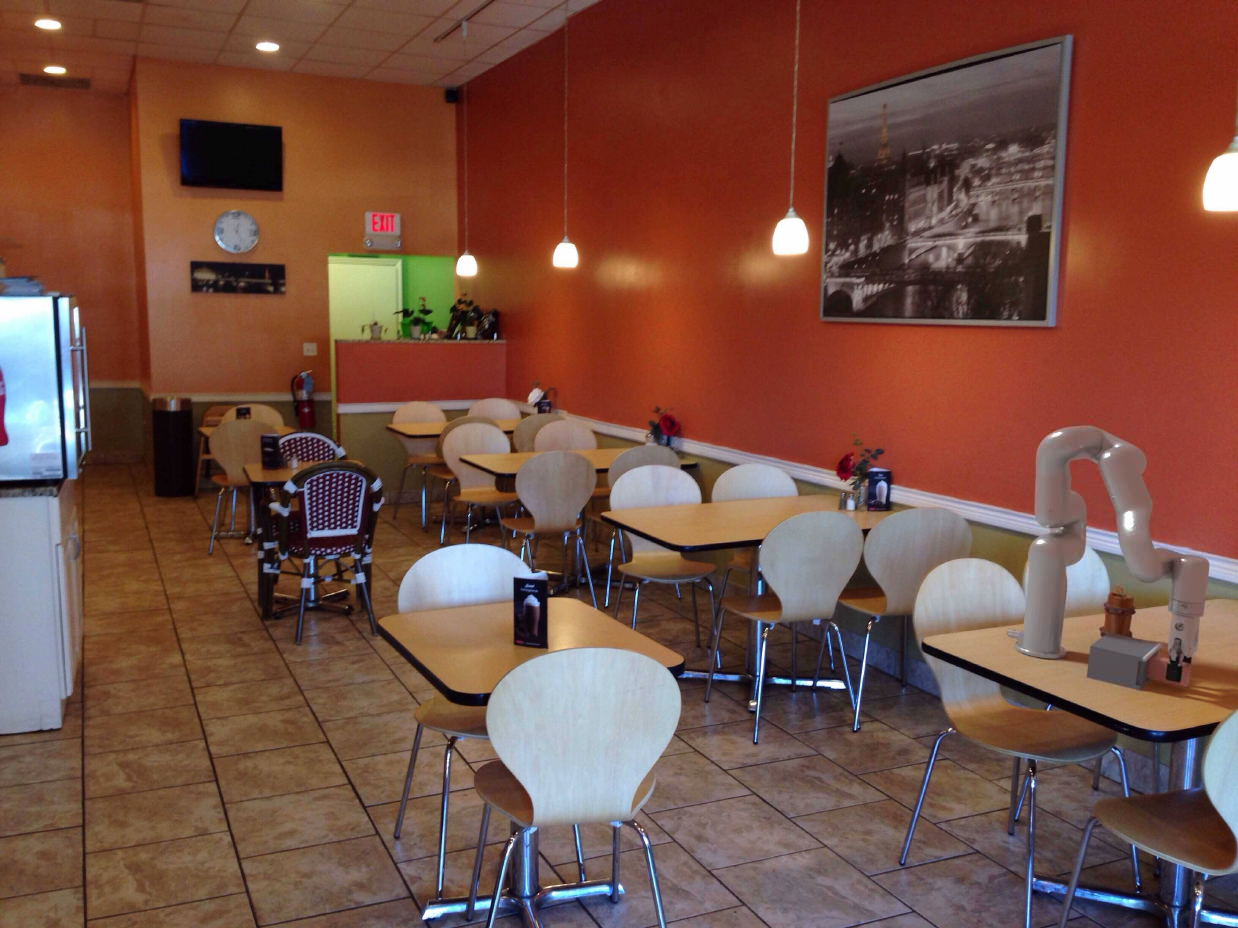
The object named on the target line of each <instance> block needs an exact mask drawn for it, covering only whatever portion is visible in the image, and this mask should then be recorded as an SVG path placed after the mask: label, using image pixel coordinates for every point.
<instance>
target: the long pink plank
mask: <svg viewBox="0 0 1238 928" xmlns="http://www.w3.org/2000/svg"><path fill="white" fill-rule="evenodd" d="M1168 659H1169V658H1166V657H1162V656H1158V655H1157V656H1154V655H1152V656H1151V657H1150V658H1149V664H1148V671H1147V678H1150V680H1155V681H1159V682H1164V683H1168V684H1171V685H1176V686H1180V687H1185V688H1186V687H1187V686H1188V685H1189V684H1190V676H1191V670H1192V663H1191V664H1189V663H1185V662H1182V665H1181V666H1183V669H1182V677H1181V682H1180V683H1178V682H1174V681H1169V680H1166V671H1167V663H1168Z"/></svg>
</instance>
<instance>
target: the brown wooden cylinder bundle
mask: <svg viewBox="0 0 1238 928" xmlns="http://www.w3.org/2000/svg"><path fill="white" fill-rule="evenodd" d="M1123 591H1124V590H1123V586H1120V585H1113V587H1112V591H1111V592H1109V593H1108V594H1107V601H1106V602H1104V603H1103V606H1104V611H1105V613H1104V617H1105V618H1104V624H1103V626H1100V627H1099V628H1098V629H1099V632H1100V634H1099V635H1100V638H1102V637H1103V636H1104V635H1106V634H1107V633H1108V632H1109V633H1114V634H1118V635H1123V636H1128V637H1132V638H1134V637H1133V632H1132V631H1131V625H1132V619H1133V615H1135V614H1136V612H1137V611H1136V607H1135V606H1134V600H1135V598H1134V596H1132V595H1131V594H1126V593H1123Z"/></svg>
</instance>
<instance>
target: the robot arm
mask: <svg viewBox="0 0 1238 928" xmlns="http://www.w3.org/2000/svg"><path fill="white" fill-rule="evenodd" d="M1083 459H1087V460H1089V461H1091V462H1093V463H1095V464H1097V467H1098V470H1099V474H1100V476H1101V479H1102V481H1103V484H1104V486H1105V488H1106V491H1107V493H1108V496H1109V498H1110V502H1111V504H1112V506H1113V509H1114V511H1115V515H1116V530H1117V539H1118V544H1119V547H1120V550H1121V553H1122V556H1123V558H1124V561H1125V563H1126V566H1127V567H1128V570H1129V572H1130V574H1132V576H1133V577H1134V578H1135V579H1136V580H1137V581H1139V582H1141V583H1145V584H1153V583H1157V582H1159V581H1162V580H1163V581H1164V580H1169V579H1170V580H1171V581H1170V589H1169V598H1168V605H1167V606H1168V607H1167V612H1170V613H1171V618H1170V619H1171V620H1170V625H1169V626H1170V627H1169V634H1168V641H1167V653H1168V654H1169V656H1168V658H1167V659H1168V663H1167V671H1166V680H1169V681H1174V682H1178V683H1180V682H1181V677H1182V669H1183V666H1181V665H1182V662H1185V663H1189V664H1191V665H1192V659H1193V657H1192V656H1194V655H1195V654H1196V653H1197V650H1198V647H1199V634H1200V618H1201V617H1204V614H1205V607H1206V606H1205V605H1206V598H1207V590H1208V589H1207V588H1208V581H1209V574H1210V562H1209V560H1208V559H1207V558H1206V557H1204V556H1200V555H1195V554H1188V553H1186V554H1185V553H1181V552H1178V551H1175V550H1172V549H1169V548H1164V547H1155V546H1154V544H1153V540H1152V538H1151V534H1150V519H1151V515H1152V511H1153V509H1154V508H1153V505H1154V504H1153V499H1152V498H1151V495H1150V493H1149V490H1148V489H1147V486H1146V483H1145V481H1144V478H1143V475H1142V474H1143V473H1144V472H1145V470H1146V469H1147V463H1148V461H1147V457H1146V455H1145V453H1144V452H1143V450H1142V449H1141V448H1139V447H1138V446H1136V445H1134V444H1132V443H1130V442H1128V441H1126V440H1124V439H1122V438H1120V437H1117V436H1115V435H1113V434H1112V433H1111V432H1108V431H1106V430H1104V429H1102V428H1100V427H1096V426H1093V425H1079V426H1078V425H1076V426H1068V427H1062V428H1060V429H1059V428H1058V429H1057V430H1055V431H1052V432H1051V433H1049V434H1048V435H1046V436H1045V437H1044V438H1043V439H1042V440H1041V442H1040V443H1039V445H1038V447H1037V449H1036V453H1035V483H1034V484H1035V487H1034V488H1035V490H1034V518H1035V520H1036V522H1037V524H1039V525H1040V526H1041V527H1043V528H1046V529H1049V533H1045V534H1042V535H1039V536H1038V537H1036V538H1035V539H1034V540H1033V541H1032V542H1031V544H1030V546H1029V549H1028V552H1027V563H1028V577H1027V579H1028V582H1027V588H1026V590H1027V591H1026V598H1025V599H1026V600H1025V608H1024V609H1025V610H1024V618H1023V628H1022V629H1020V630H1016V629H1013V628H1011V627H1010V628H1007V630H1006V635H1007V637H1008V638H1011V639H1015V640H1017V641H1015V644H1014V648H1015V649H1016V650H1017V651H1018V652H1020V653H1022V654H1025V655H1028V656H1031V657H1036V658H1042V659H1048V660H1049V659H1052V660H1053V659H1062V658H1064V657H1066V656H1067V650H1066V648H1064V647H1063V646H1062V637H1063V631H1064V630H1063V629H1064V622H1065V621H1064V620H1065V613H1066V612H1065V611H1066V604H1067V594H1068V578H1067V577H1068V575H1067V567H1070V566H1074V565H1075V564H1077V563H1078V562H1080V561H1081V560H1082V559H1083V558H1084V555H1085V552H1086V547H1087V519H1088V518H1087V517H1088V516H1087V514H1088V513H1087V511H1088V510H1087V506H1086V502H1085V500H1084V499H1083V497H1082V495H1080V494H1079V493H1078V492H1076V491H1075V490H1072V473H1071V469H1070V463H1071V462H1072V461H1075V460H1076V461H1077V460H1083Z"/></svg>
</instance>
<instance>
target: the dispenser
mask: <svg viewBox="0 0 1238 928" xmlns="http://www.w3.org/2000/svg"><path fill="white" fill-rule="evenodd" d="M1132 637H1133V636H1132ZM1132 637H1128V636H1123V635H1118V634H1114V633H1109V632H1108V633H1107V634H1106V635H1104V636H1103V637H1100V638H1099V639H1097V640H1096V641H1095V642H1093V643H1092V644H1091V645H1090V647H1089V655H1088V663H1087V671H1086V678H1089V679H1092V680H1098V681H1101V682H1105V683H1109V684H1113V685H1117V686H1121V687H1124V688H1129V689H1133V690H1137V691H1140V690H1141V689H1142V688H1143V687H1145V685H1146V684H1147V683H1148V682H1150V681H1151V679H1150V678H1147V671H1148V664H1149V658H1150V657H1151V656H1152V655H1154V656H1158V653H1159V650H1160V649H1161V648H1162V647H1163V645H1164V644H1163V643H1162V642H1159V643H1158V642H1155V641H1149V640H1147V639H1146V640H1145V639H1141V638H1136V637H1133V638H1132Z"/></svg>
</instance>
